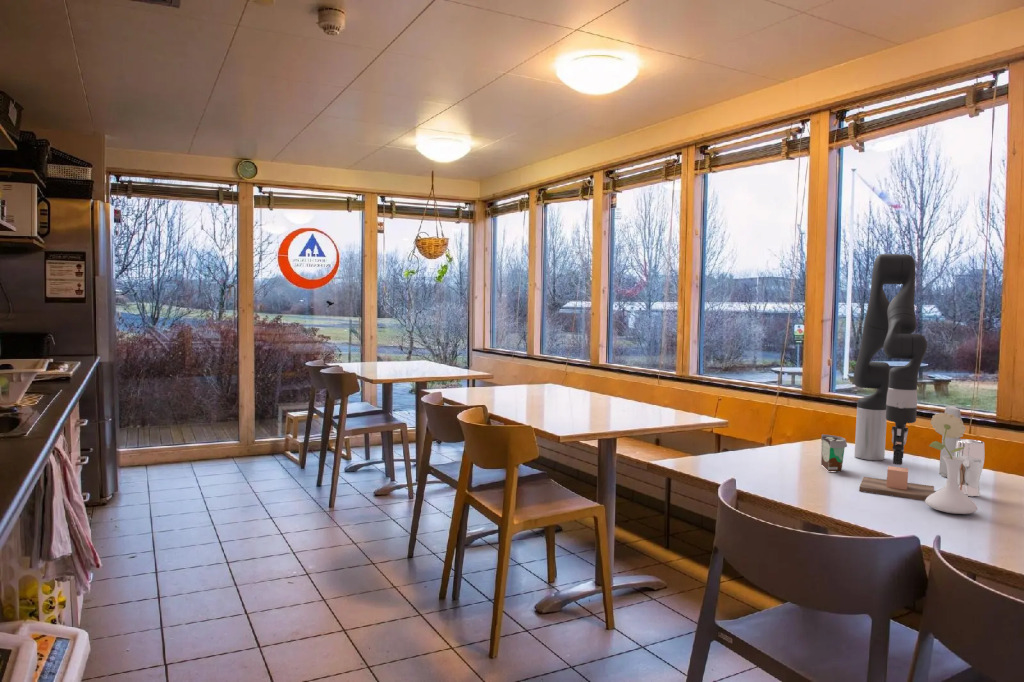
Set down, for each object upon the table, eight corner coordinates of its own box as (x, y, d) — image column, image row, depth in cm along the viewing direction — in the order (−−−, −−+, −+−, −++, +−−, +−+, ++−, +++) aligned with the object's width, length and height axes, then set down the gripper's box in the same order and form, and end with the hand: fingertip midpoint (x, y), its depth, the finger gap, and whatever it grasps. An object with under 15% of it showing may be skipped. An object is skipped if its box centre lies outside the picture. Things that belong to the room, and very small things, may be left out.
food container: (850, 474, 216) (852, 442, 215) (829, 473, 217) (830, 441, 216) (840, 465, 228) (841, 435, 227) (820, 464, 229) (821, 434, 228)
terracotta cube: (887, 483, 201) (888, 466, 201) (907, 485, 199) (908, 468, 198) (886, 486, 197) (887, 469, 196) (906, 489, 194) (907, 472, 194)
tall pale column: (964, 481, 210) (969, 409, 209) (950, 480, 211) (954, 408, 210) (947, 472, 221) (951, 403, 220) (933, 472, 221) (937, 403, 220)
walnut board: (863, 480, 208) (863, 476, 208) (933, 490, 199) (934, 486, 199) (859, 491, 196) (859, 486, 196) (933, 501, 187) (934, 497, 187)
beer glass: (946, 491, 198) (949, 439, 197) (963, 489, 200) (966, 438, 200) (971, 498, 191) (974, 444, 190) (987, 496, 194) (991, 442, 193)
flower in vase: (988, 516, 175) (994, 417, 174) (952, 519, 172) (959, 418, 170) (942, 501, 187) (948, 409, 186) (908, 504, 184) (914, 410, 183)
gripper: (887, 400, 204) (884, 454, 206) (884, 406, 192) (881, 464, 193) (917, 402, 200) (913, 458, 202) (916, 409, 188) (912, 468, 189)
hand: (898, 461), depth 197 cm, fingers open, 8 cm apart
